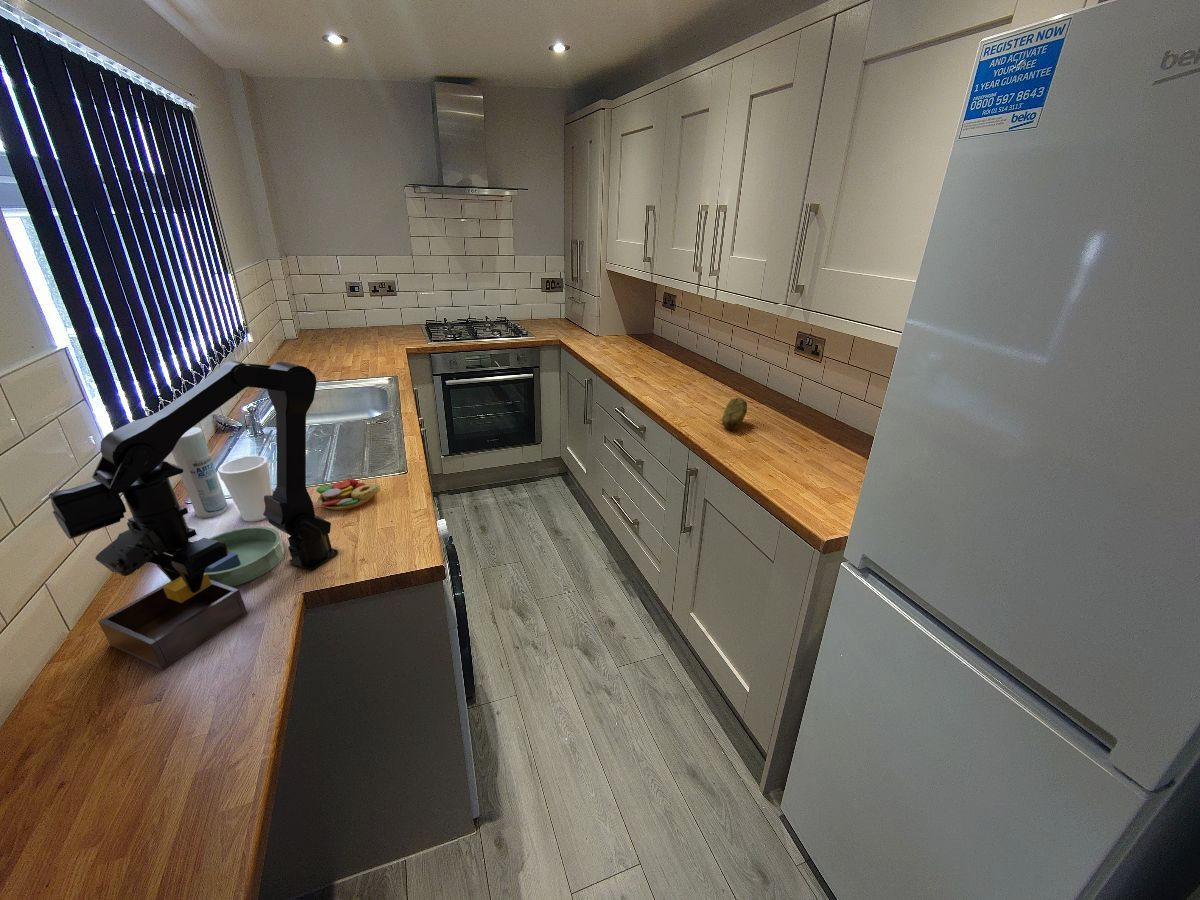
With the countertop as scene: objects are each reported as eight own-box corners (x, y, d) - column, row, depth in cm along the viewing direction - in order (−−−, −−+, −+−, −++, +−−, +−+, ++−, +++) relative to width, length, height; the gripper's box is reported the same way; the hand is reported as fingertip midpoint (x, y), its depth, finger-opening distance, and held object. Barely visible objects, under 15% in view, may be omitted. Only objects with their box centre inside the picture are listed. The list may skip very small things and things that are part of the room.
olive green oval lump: (711, 427, 168) (713, 404, 165) (731, 417, 177) (733, 394, 173) (735, 433, 163) (737, 409, 160) (753, 422, 172) (756, 399, 168)
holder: (197, 594, 96) (188, 571, 94) (247, 613, 91) (239, 589, 89) (110, 645, 84) (97, 621, 82) (162, 670, 80) (150, 644, 78)
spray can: (212, 503, 127) (185, 426, 119) (235, 505, 126) (209, 428, 118) (188, 516, 122) (157, 437, 113) (212, 519, 120) (182, 439, 112)
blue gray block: (228, 560, 105) (225, 550, 104) (241, 564, 103) (237, 554, 102) (203, 574, 100) (199, 564, 99) (215, 579, 99) (211, 568, 98)
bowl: (248, 534, 114) (244, 520, 113) (302, 550, 108) (298, 535, 107) (167, 578, 100) (161, 563, 99) (224, 598, 95) (218, 583, 93)
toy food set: (387, 498, 128) (384, 486, 127) (332, 519, 119) (329, 507, 118) (362, 481, 137) (359, 470, 135) (309, 500, 128) (305, 489, 126)
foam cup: (240, 509, 124) (223, 459, 119) (284, 501, 128) (269, 452, 122) (232, 528, 116) (213, 476, 111) (279, 519, 120) (263, 468, 114)
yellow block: (198, 580, 91) (193, 568, 90) (211, 585, 90) (207, 573, 89) (167, 598, 87) (162, 586, 86) (181, 603, 85) (176, 591, 84)
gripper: (57, 521, 78) (99, 604, 84) (132, 548, 71) (172, 635, 78) (140, 489, 87) (173, 565, 94) (214, 509, 81) (244, 590, 87)
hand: (188, 588), depth 88 cm, fingers closed on yellow block, 3 cm apart
